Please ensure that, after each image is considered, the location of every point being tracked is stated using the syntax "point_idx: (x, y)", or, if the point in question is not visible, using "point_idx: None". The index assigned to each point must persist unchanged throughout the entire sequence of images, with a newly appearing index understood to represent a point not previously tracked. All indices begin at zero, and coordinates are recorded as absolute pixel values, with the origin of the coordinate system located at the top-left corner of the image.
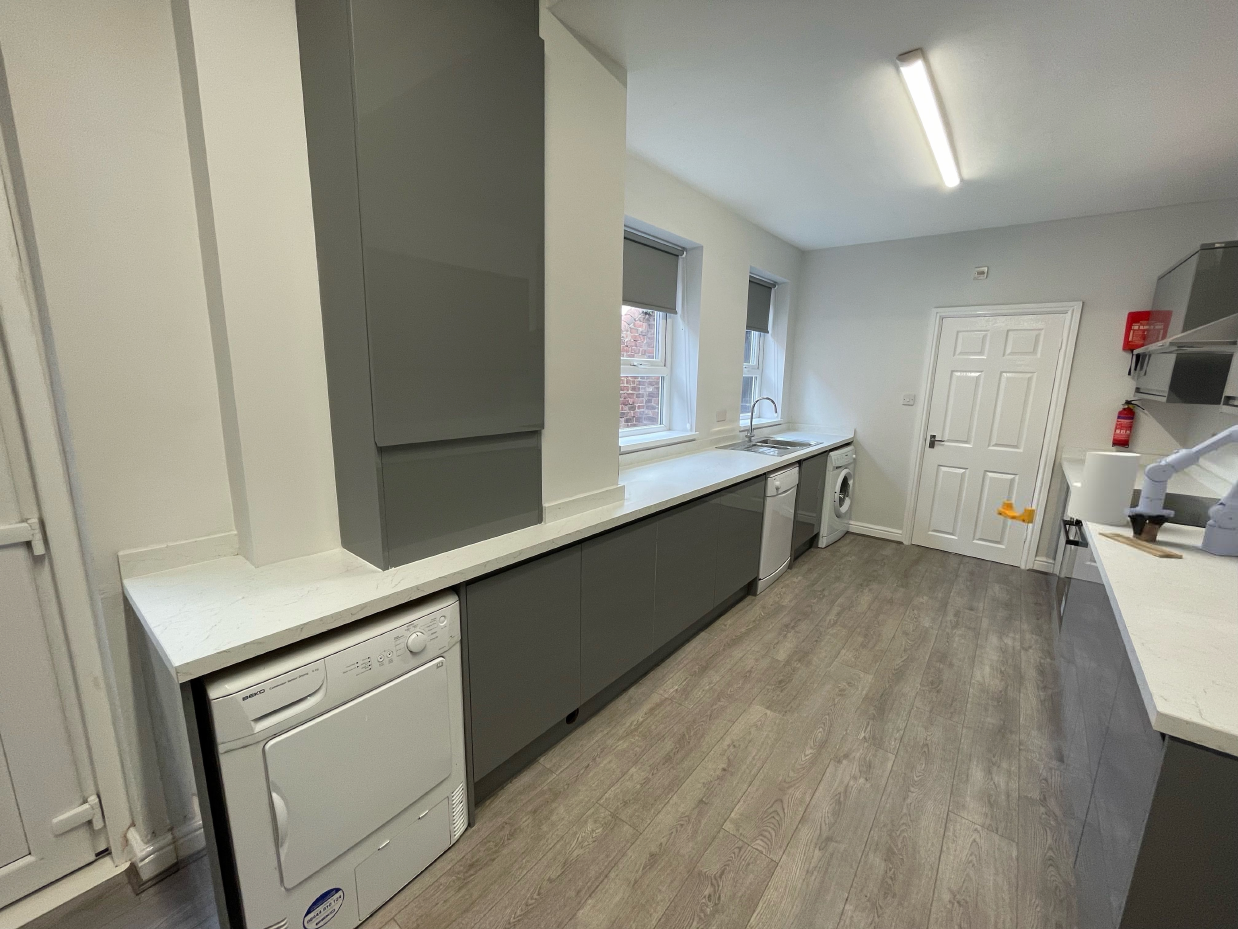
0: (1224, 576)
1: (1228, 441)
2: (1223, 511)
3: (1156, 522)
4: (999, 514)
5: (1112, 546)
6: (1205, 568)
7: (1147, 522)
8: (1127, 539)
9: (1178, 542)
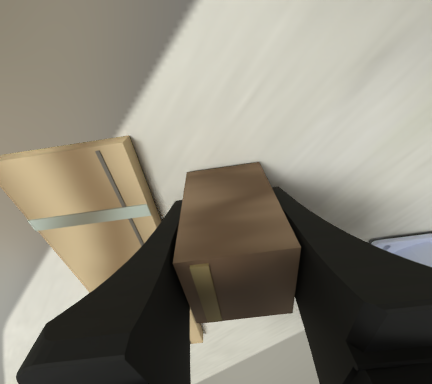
0: (200, 378)
1: None
2: None
3: (307, 314)
4: None
5: (38, 298)
6: (200, 362)
7: (282, 257)
8: (113, 252)
9: (416, 168)
